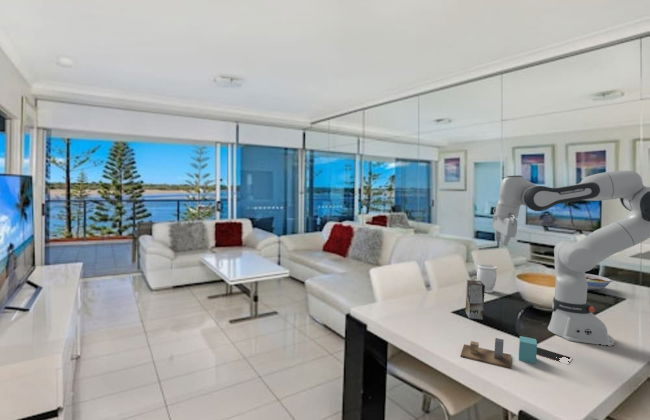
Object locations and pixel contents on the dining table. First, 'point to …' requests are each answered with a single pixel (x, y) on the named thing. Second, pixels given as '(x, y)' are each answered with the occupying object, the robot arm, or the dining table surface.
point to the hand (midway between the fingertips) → (501, 243)
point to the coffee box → (475, 299)
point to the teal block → (527, 349)
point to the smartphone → (550, 354)
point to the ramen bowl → (596, 282)
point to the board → (484, 355)
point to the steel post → (498, 349)
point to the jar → (487, 276)
